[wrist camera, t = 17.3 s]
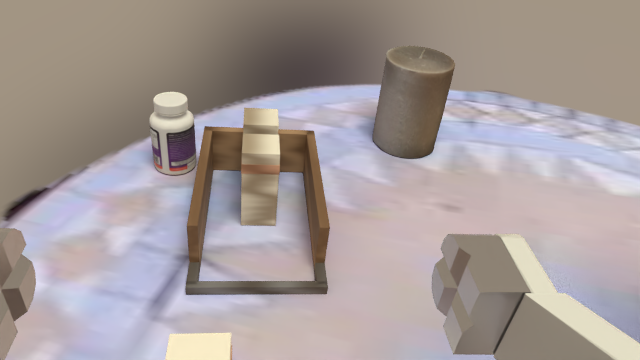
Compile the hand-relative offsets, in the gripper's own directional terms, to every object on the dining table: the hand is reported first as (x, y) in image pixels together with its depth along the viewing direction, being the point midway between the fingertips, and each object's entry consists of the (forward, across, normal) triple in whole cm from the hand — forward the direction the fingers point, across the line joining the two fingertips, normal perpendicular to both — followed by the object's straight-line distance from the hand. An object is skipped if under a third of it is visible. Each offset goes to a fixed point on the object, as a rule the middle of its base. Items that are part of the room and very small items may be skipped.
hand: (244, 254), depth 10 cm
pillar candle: (+57, -23, +32) cm, 69 cm away
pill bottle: (+49, +10, +32) cm, 60 cm away
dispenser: (+38, -1, +32) cm, 50 cm away
